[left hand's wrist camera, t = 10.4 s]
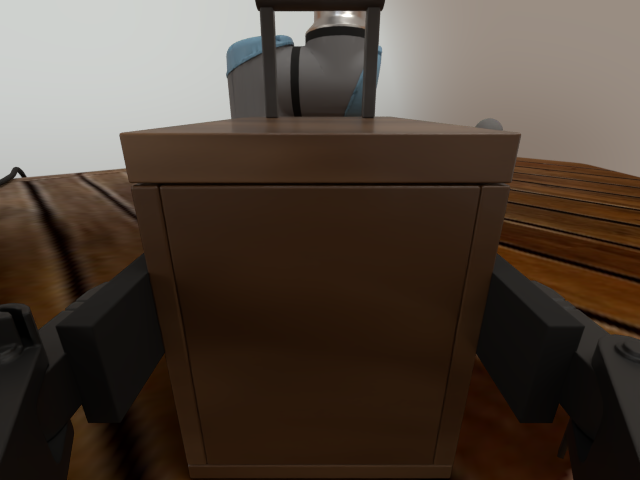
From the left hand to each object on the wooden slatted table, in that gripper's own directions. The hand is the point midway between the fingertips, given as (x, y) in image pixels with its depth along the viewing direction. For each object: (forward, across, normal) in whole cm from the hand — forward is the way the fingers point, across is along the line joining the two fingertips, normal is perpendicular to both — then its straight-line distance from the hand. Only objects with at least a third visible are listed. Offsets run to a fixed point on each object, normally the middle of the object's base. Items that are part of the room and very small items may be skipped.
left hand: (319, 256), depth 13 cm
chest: (+4, 0, -7) cm, 8 cm away
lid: (+4, 0, +4) cm, 5 cm away
